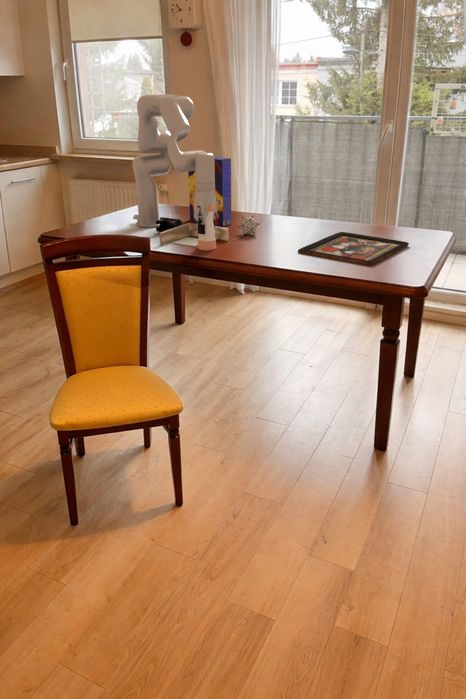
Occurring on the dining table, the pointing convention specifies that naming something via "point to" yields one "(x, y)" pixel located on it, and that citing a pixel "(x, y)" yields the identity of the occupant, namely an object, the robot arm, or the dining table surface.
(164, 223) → the end cap
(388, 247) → the framed icon painting
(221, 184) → the cereal box
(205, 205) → the robot arm
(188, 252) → the dining table surface
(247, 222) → the grey spiky star ornament
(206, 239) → the pepper shaker
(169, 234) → the corner walls
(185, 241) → the pad
